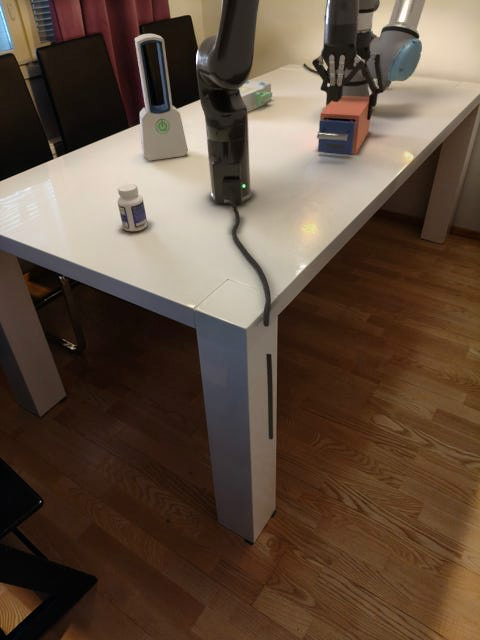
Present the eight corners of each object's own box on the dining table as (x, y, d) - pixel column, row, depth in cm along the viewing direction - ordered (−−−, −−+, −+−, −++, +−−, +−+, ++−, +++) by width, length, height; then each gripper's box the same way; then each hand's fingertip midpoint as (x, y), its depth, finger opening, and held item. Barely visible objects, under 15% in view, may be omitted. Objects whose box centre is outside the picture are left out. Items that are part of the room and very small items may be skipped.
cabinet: (355, 154, 134) (359, 115, 128) (318, 151, 137) (320, 113, 131) (368, 132, 148) (372, 96, 141) (334, 130, 151) (336, 95, 145)
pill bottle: (149, 220, 107) (142, 181, 102) (146, 231, 103) (138, 191, 98) (125, 221, 107) (116, 182, 102) (121, 232, 103) (112, 193, 98)
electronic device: (145, 161, 137) (124, 39, 118) (142, 153, 142) (122, 35, 124) (188, 155, 139) (175, 34, 121) (184, 147, 145) (170, 31, 126)
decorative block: (236, 77, 186) (280, 82, 177) (237, 95, 190) (280, 101, 181) (193, 93, 170) (239, 99, 161) (195, 112, 174) (240, 119, 165)
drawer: (347, 161, 127) (350, 129, 122) (312, 158, 130) (314, 127, 125) (363, 133, 144) (366, 104, 139) (332, 131, 147) (334, 103, 142)
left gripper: (373, 18, 112) (365, 98, 123) (317, 18, 116) (314, 96, 127) (367, 22, 107) (359, 106, 117) (308, 23, 111) (306, 103, 122)
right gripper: (403, 28, 129) (391, 115, 142) (318, 28, 136) (314, 111, 150) (399, 33, 123) (388, 123, 137) (311, 33, 131) (308, 118, 144)
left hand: (335, 101), depth 122 cm, fingers closed
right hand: (349, 117), depth 143 cm, fingers closed on cabinet, 10 cm apart
